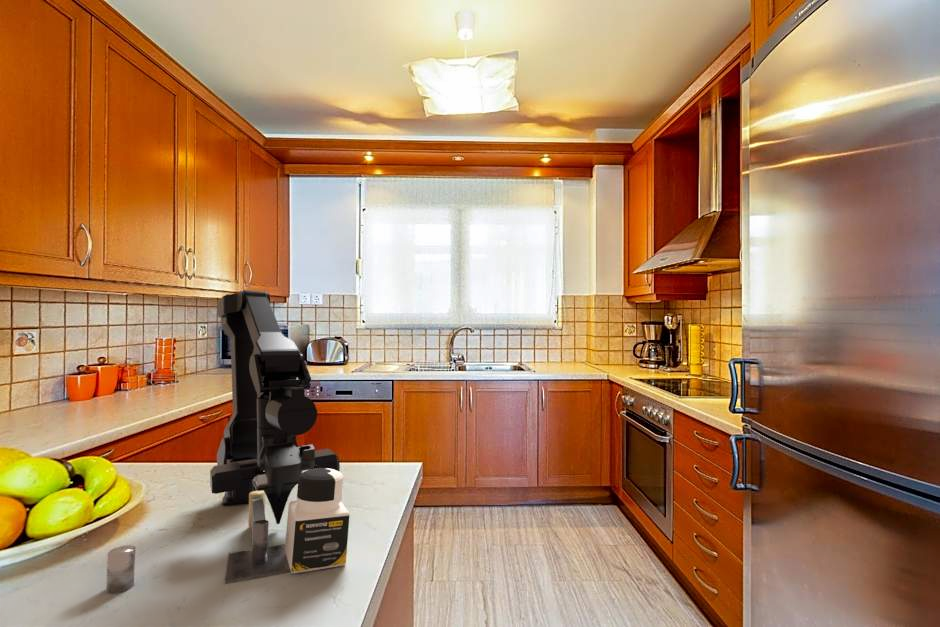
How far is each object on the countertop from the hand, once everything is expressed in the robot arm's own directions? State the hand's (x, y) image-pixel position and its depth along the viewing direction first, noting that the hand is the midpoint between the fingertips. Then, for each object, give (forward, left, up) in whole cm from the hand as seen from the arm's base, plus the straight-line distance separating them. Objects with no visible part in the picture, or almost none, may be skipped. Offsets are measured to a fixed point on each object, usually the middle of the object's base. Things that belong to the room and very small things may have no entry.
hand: (277, 523), depth 76 cm
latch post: (+11, -18, -1) cm, 21 cm away
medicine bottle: (+13, +4, -1) cm, 14 cm away
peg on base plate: (+11, -3, -1) cm, 11 cm away
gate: (+2, -3, -1) cm, 4 cm away
